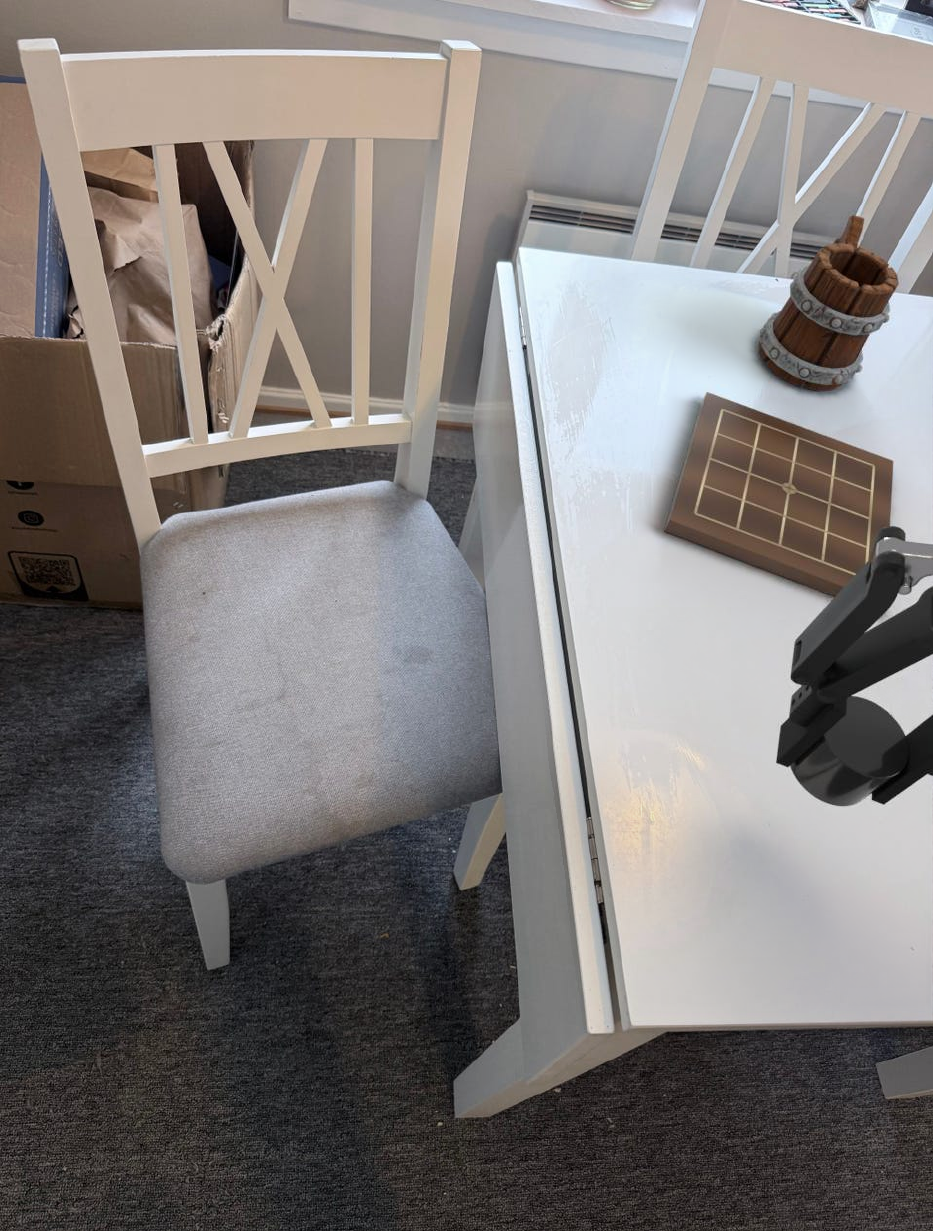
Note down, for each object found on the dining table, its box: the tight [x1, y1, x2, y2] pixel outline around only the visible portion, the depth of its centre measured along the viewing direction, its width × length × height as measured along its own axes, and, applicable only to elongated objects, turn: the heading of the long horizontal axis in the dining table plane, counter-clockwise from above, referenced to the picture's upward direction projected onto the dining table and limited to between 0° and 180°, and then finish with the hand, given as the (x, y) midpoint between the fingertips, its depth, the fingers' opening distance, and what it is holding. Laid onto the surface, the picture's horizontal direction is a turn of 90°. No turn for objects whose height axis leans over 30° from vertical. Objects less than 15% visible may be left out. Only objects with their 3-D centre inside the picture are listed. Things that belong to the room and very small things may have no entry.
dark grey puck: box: [789, 695, 909, 807], centre depth 49 cm, size 5×5×4 cm
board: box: [664, 391, 894, 597], centre depth 80 cm, size 20×20×2 cm
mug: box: [758, 214, 900, 392], centre depth 91 cm, size 12×14×15 cm
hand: (831, 764), depth 50 cm, fingers closed on dark grey puck, 5 cm apart
